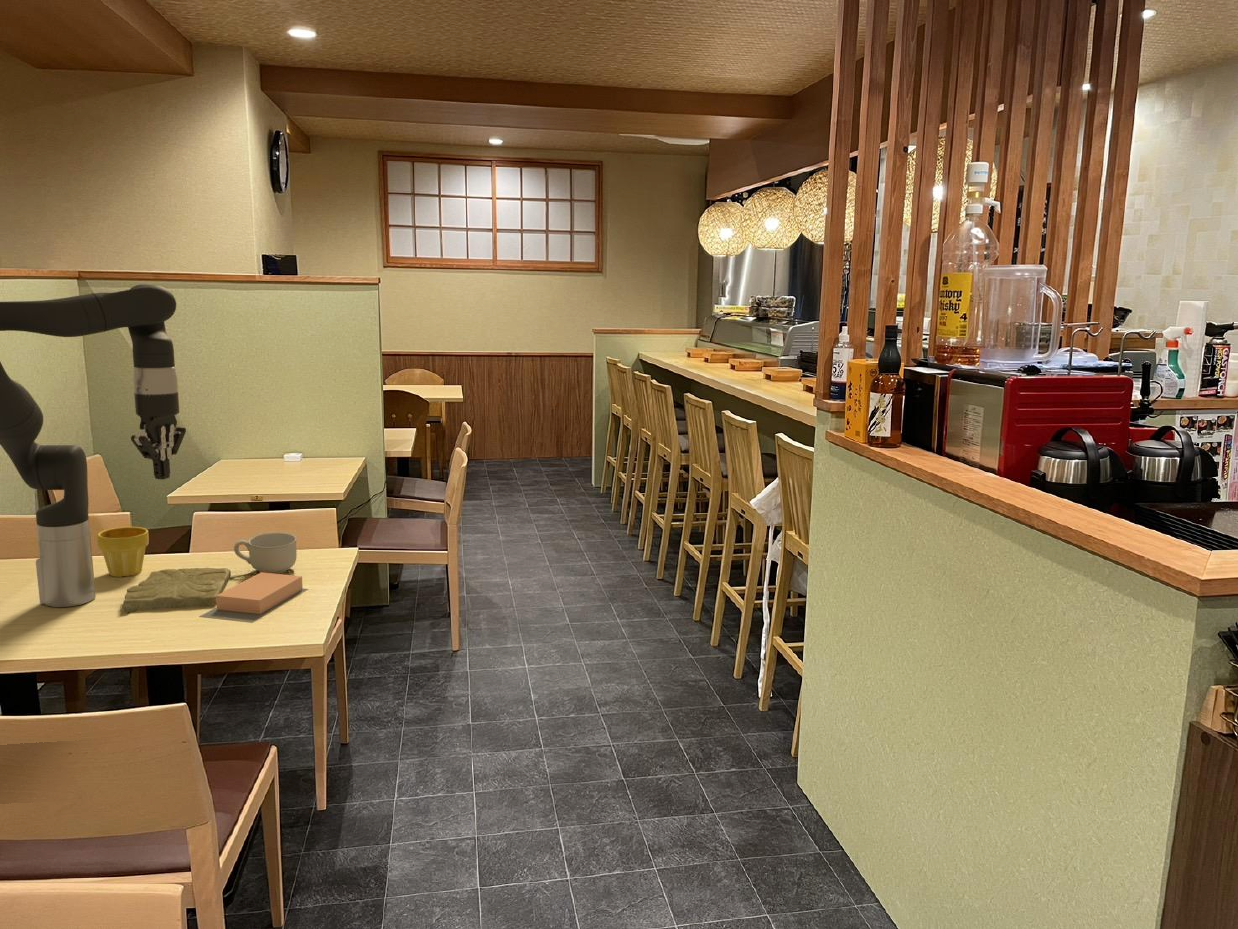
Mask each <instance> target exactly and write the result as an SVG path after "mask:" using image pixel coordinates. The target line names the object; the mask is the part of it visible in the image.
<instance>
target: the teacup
mask: <svg viewBox="0 0 1238 929" xmlns="http://www.w3.org/2000/svg"><path fill="white" fill-rule="evenodd" d="M297 541H298V538H297V536H296V535H294V534H291V533H287V532H267V533H261V534H257V535H254V536H252V537H251V538H249V539H248V540H246V539H240V540H237V542H235V543H234V546H233V552H234V553H235V555H236V556H237V557H238V558H240V559H241V560H244V561H246V563H248V565H251V567H252V569H254V570H255V571H257V572H258V573H261V572H263V573H273V574H280V573H281V574H284V573H287V572H288V571H289V570H290V569H291V568H293V567H294V565H295V564H296V562H297V557H298V556H297V552H298V551H297ZM242 545H243V546H245V547H246V549H247V551H248V555H245V554H243V553H242V551H240V549H239V547H240V546H242ZM287 570H288V571H287ZM283 572H284V573H283Z"/></svg>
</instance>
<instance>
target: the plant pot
mask: <svg viewBox="0 0 1238 929" xmlns="http://www.w3.org/2000/svg"><path fill="white" fill-rule="evenodd" d="M149 538H150V537H149V530H148V529H147V528H146V527H140V526H118V527H113V528H108V529H105V530H104V529H103V530H102V531H100V532H98V533H97V547H98V549H99V550H100V551H101V552H102V555H103V559H104V561H105V565H106V568H107V572H108V574H109V575H110V576H111V577H114V578H115V577H116V578H123V577H122V576H126V577H130V576H129V575H132V576H135V574H136V575H138V574H140V573H141V572H142V571H143V565H144V558H145V553H146V547H148V546H149V540H150V539H149Z"/></svg>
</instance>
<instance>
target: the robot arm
mask: <svg viewBox="0 0 1238 929" xmlns="http://www.w3.org/2000/svg"><path fill="white" fill-rule="evenodd" d="M176 310H177V301H176V298H175V296H174V294H173V293H172V292H171V291H170V290H169V289H167V288H165V287H164V286H161V285H157V284H143V283H142V284H136V285H133V286H132V287H130V288H129V289H126V290H121V291H120V290H119V291H115V292H114V291H113V292H93V293H87V294H82V295H81V294H79V295H75V296H69V297H63V298H62V297H61V298H54V299H44V300H43V299H42V300H26V301H24V300H23V301H18V300H16V301H0V332H6V331H7V332H8V331H9V332H10V331H11V332H12V331H14V332H27V333H31V334H32V333H33V334H34V333H35V334H39V335H46V336H52V337H58V338H59V337H61V338H76V337H78V338H79V337H84V336H87V335H88V336H90V335H95V334H101V333H105V332H108V331H113V330H116V329H123V328H127V329H128V333H129V336H130V339H131V343H132V344H131V345H132V359H133V360H132V362H133V379H132V381H133V394H134V406H135V409H134V410H135V414H136V415H137V416H138V417H139V418H140V422H139V427H138V428H139V432H138V433H137V434H136V435H135V434H134V435H133V434H132V435H131V437H130V440H131V442H132V443H133V445H134V446H135V447H136V448H137V450H138V451H139V453H140V454H141V455H142V457H143V459H147V460H151V461H152V467H153V476H154V478H155V479H156V480H166V479H170V476H171V468H170V467H171V465H170V462H171V461H170V459H171V458H172V456H174V455H177V453H178V451H179V449H180V447H181V444H182V442H183V439H184V437H185V436H186V435H185V434H186V433H187V429H186V427H182V426H180V425H178V420H177V418H176V416H177V415H179V413H180V402H179V384H178V376H177V371H176V367H175V366H176V365H175V364H176V363H175V351H174V350H175V349H174V343H173V341H172V339H171V338H170V336H168V334H167V331H166V324H165V322H166V321H168V320H170V318H172V316H174V314H175V312H176ZM43 425H44V413H43V412H42V409H41V407H40V406H39V405H38V403H37V402H36V400H35V399H34V398H33V396H32V394H31V393H30V392H29V390H27V389H26V388H25V387H24V386H23V385H22V384H21V383H19V382H18V381H16V380H13V379H12V378H11V377H10V376H9V375H8V373H7V371H6V369H5V368H4V366H3V364H2V362H1V361H0V446H1V447H2V449H3V450H4V452H5V453H6V455H7V456H8V457H9V459H10V461H11V463H12V464H13V465H14V467H15V468H16V471H17V472H18V474H19V476H20V477H21V479H22V481H23V482H24V483H25V485H27V486H28V487H29V488H31V489H33V490H37V491H38V490H39V491H63V492H64V493H63V498H62V499H60V500H59V501H57V502H54V503H50V504H47V505H44V506H42V507H40V508H39V509H38V510H36V513H35V514H36V515H35V518H36V520H35V521H36V528H37V538H38V548H39V549H38V550H39V558H37V559H36V560H35V566H36V567H35V568H36V577H37V588H38V598H39V604H41V605H45V606H48V607H51V608H52V607H53V608H65V607H66V608H68V607H75V606H80V605H83V604H86V603H89V602H91V601H93V600H94V599H96V585H95V573H94V563H93V562H94V561H93V551H92V550H93V549H92V539H91V529H90V519H89V517H90V516H89V503H90V502H89V489H88V488H89V487H88V484H89V482H88V462H87V461H88V460H87V456H86V452H85V451H84V449H83V448H82V447H81V446H79V445H77V444H75V445H74V444H73V445H72V444H57V445H56V444H50V445H49V444H48V445H47V444H46V445H45V444H38V443H36V442H35V441H36V439H37V438H38V436H39V435H40V434H41V431H42V428H43Z"/></svg>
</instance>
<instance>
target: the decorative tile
mask: <svg viewBox="0 0 1238 929" xmlns="http://www.w3.org/2000/svg"><path fill="white" fill-rule="evenodd" d="M231 572H232V571H231V570H230V569H229V568H227V567H221V568H219V567H218V568H215V567H195V568H193V567H190V568H187V567H186V568H178V569H176V568H172V569H171V568H169V569H168V568H167V569H161V570H157V571H156V570H155V571H151V572H150V574H149V575H148V577H146V578H145V580H142V581H140V582H139V583H138V585H133V586H131V587H128V588H127V589H126V593H125V595H124V600H123V606H122V613H123V612H129V613H136V612H138V611H148V610H164V609H165V610H166V609H184V608H185V609H186V608H199V607H200V608H201V607H202V608H203V607H217V605H216V595H218V594H220V593H222V592H224V591H225V590H226V587H227V585H228V583H229V581H230V580H231V579H232V578H231V576H232V573H231Z"/></svg>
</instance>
